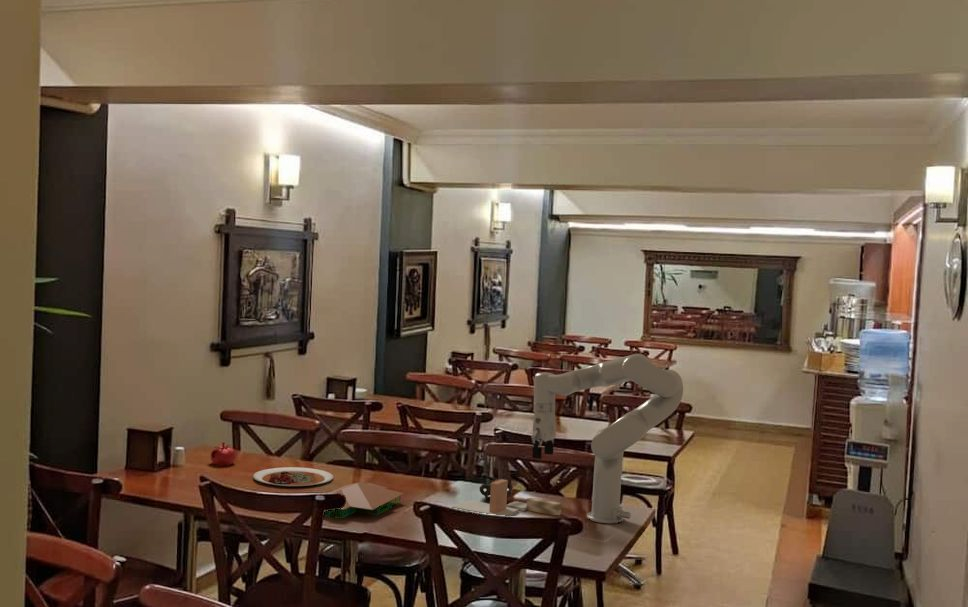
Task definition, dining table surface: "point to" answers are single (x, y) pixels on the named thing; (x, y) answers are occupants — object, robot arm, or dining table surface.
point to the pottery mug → (488, 489)
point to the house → (365, 497)
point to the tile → (498, 496)
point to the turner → (537, 506)
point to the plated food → (291, 476)
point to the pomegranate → (223, 455)
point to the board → (483, 508)
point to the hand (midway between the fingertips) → (542, 456)
